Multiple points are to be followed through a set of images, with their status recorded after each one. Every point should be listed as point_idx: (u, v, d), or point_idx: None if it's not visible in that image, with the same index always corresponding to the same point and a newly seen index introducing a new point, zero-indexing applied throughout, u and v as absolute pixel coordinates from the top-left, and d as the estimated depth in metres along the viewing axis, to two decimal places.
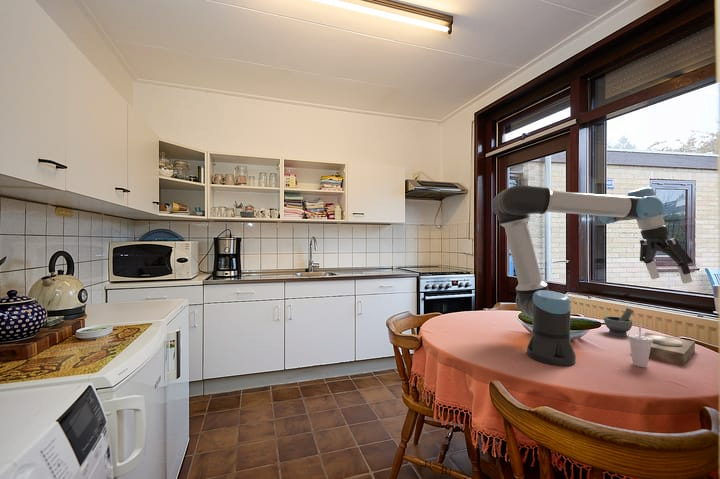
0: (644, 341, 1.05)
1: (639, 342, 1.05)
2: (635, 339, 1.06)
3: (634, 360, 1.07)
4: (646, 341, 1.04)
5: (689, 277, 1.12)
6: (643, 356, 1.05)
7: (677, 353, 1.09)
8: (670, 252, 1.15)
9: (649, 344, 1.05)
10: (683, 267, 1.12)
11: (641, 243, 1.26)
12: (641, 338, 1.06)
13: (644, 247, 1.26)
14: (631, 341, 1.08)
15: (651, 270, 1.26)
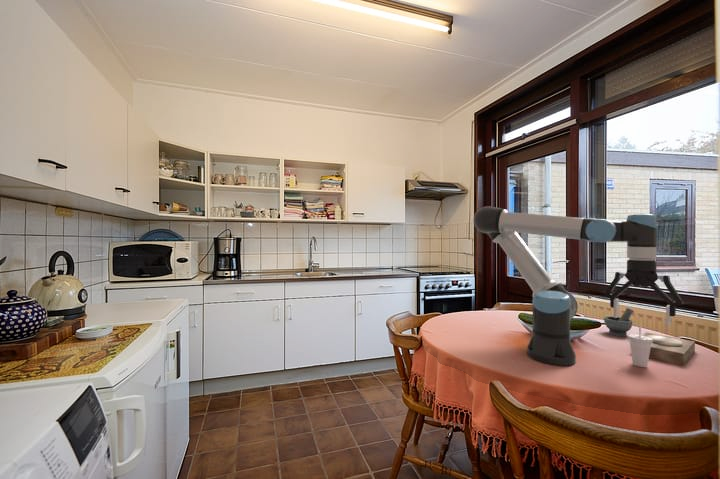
0: (644, 341, 1.05)
1: (639, 342, 1.05)
2: (635, 339, 1.06)
3: (634, 360, 1.07)
4: (646, 341, 1.04)
5: (670, 320, 1.02)
6: (643, 356, 1.05)
7: (677, 353, 1.09)
8: (660, 290, 1.03)
9: (649, 344, 1.05)
10: (672, 309, 1.01)
11: (617, 275, 1.12)
12: (641, 338, 1.06)
13: (617, 281, 1.12)
14: (631, 341, 1.08)
15: (616, 307, 1.12)
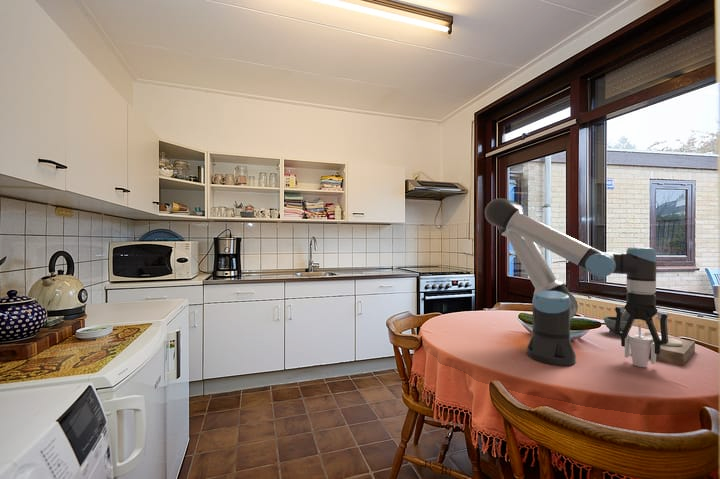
0: (644, 341, 1.05)
1: (639, 342, 1.05)
2: (635, 339, 1.06)
3: (634, 360, 1.07)
4: (646, 341, 1.04)
5: (655, 357, 1.05)
6: (643, 356, 1.05)
7: (677, 353, 1.09)
8: (653, 326, 1.04)
9: (649, 344, 1.05)
10: (657, 347, 1.03)
11: (618, 311, 1.11)
12: (641, 338, 1.06)
13: (621, 316, 1.11)
14: (631, 341, 1.08)
15: (627, 347, 1.09)
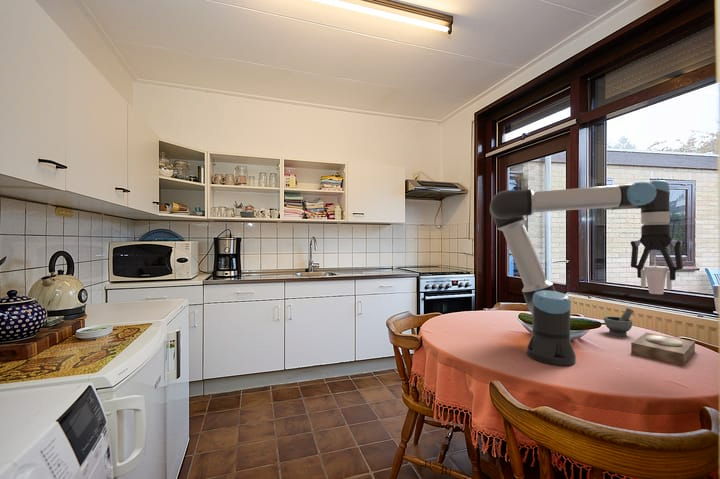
0: (659, 269, 1.10)
1: (654, 270, 1.11)
2: (650, 268, 1.12)
3: (650, 289, 1.13)
4: (661, 268, 1.10)
5: (671, 284, 1.10)
6: (658, 283, 1.11)
7: (677, 353, 1.09)
8: (667, 254, 1.10)
9: (664, 271, 1.10)
10: (672, 273, 1.09)
11: (633, 244, 1.17)
12: (656, 267, 1.11)
13: (636, 249, 1.17)
14: (647, 271, 1.13)
15: (644, 277, 1.15)
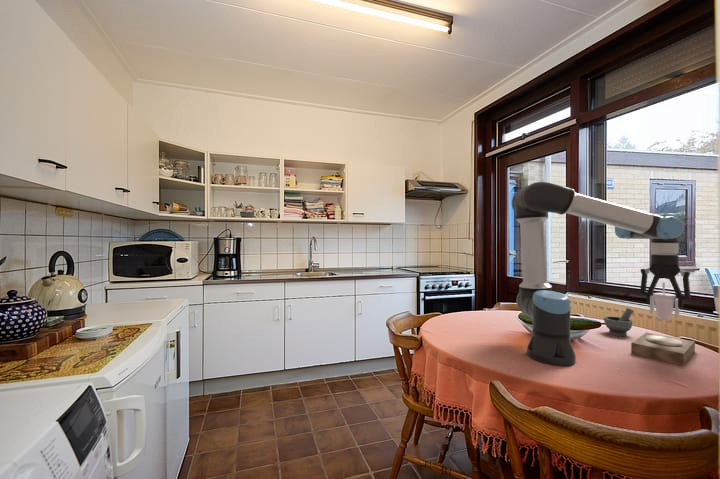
0: (668, 297, 1.17)
1: (663, 298, 1.17)
2: (660, 296, 1.18)
3: (659, 315, 1.19)
4: (670, 297, 1.16)
5: (678, 311, 1.17)
6: (667, 311, 1.17)
7: (677, 353, 1.09)
8: (676, 284, 1.16)
9: (673, 299, 1.17)
10: (680, 301, 1.15)
11: (643, 272, 1.23)
12: (665, 294, 1.18)
13: (646, 276, 1.23)
14: (656, 298, 1.20)
15: (652, 304, 1.21)
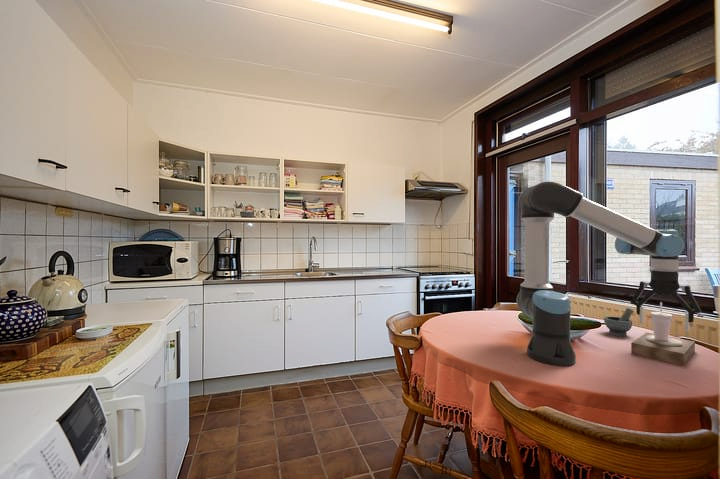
0: (665, 317, 1.17)
1: (661, 318, 1.18)
2: (657, 315, 1.19)
3: (656, 334, 1.20)
4: (667, 317, 1.17)
5: None
6: (664, 330, 1.18)
7: (677, 353, 1.09)
8: (680, 298, 1.15)
9: (670, 319, 1.17)
10: (691, 316, 1.13)
11: (641, 285, 1.24)
12: (662, 314, 1.18)
13: (642, 289, 1.24)
14: (653, 317, 1.20)
15: (642, 314, 1.24)
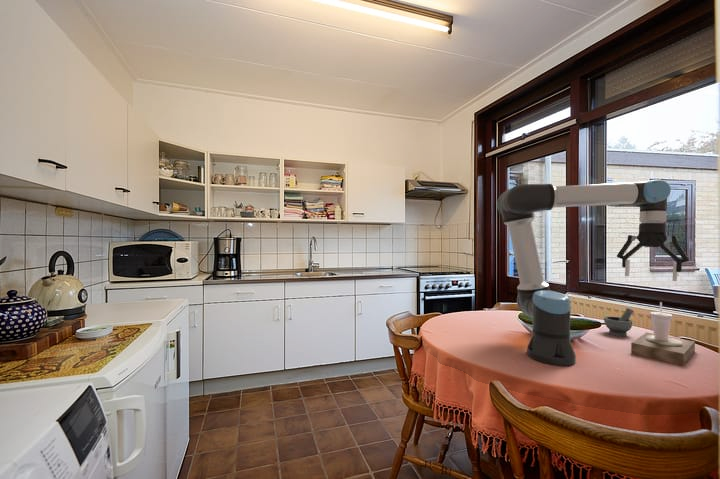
0: (665, 317, 1.17)
1: (661, 318, 1.18)
2: (657, 315, 1.19)
3: (656, 334, 1.20)
4: (667, 317, 1.17)
5: (676, 276, 1.15)
6: (664, 330, 1.18)
7: (677, 353, 1.09)
8: (668, 249, 1.15)
9: (670, 319, 1.17)
10: (678, 265, 1.13)
11: (629, 238, 1.24)
12: (662, 314, 1.18)
13: (630, 243, 1.24)
14: (653, 317, 1.20)
15: (628, 267, 1.24)
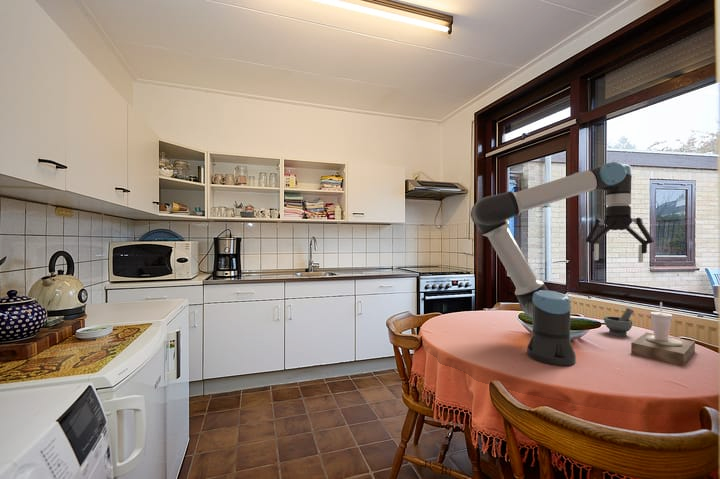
0: (665, 317, 1.17)
1: (661, 318, 1.18)
2: (657, 315, 1.19)
3: (656, 334, 1.20)
4: (667, 317, 1.17)
5: (642, 257, 1.15)
6: (664, 330, 1.18)
7: (677, 353, 1.09)
8: (633, 231, 1.16)
9: (670, 319, 1.17)
10: (644, 246, 1.14)
11: (597, 222, 1.25)
12: (662, 314, 1.18)
13: (597, 227, 1.25)
14: (653, 317, 1.20)
15: (596, 251, 1.25)
